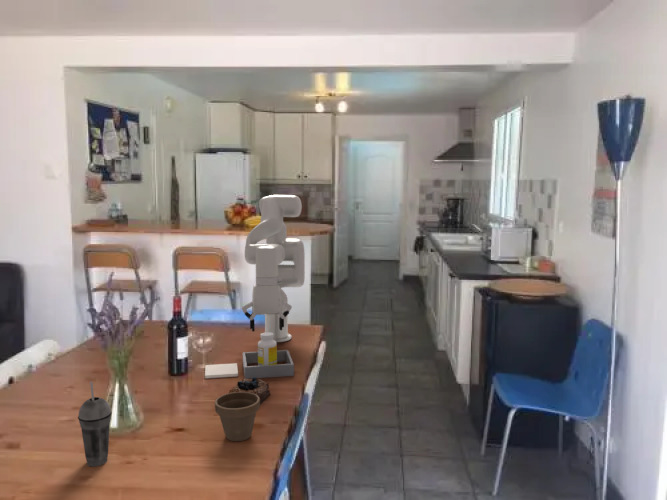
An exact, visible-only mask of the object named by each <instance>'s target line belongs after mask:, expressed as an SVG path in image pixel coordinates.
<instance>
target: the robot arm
mask: <svg viewBox="0 0 667 500" xmlns="http://www.w3.org/2000/svg"><path fill="white" fill-rule="evenodd" d="M258 206H259V212H260V215H261V216H260V223H258V224H257V225H256V226H254V227H253V229H251V230H250V231H249V233H248V235H247V236H246V238H245V239H246V240H245V247H244V260H245V261H246V263H247V264H249V265H255V284H254V285H253V287H252V293H251V295H252V296H251V301H250V302H249V303H247V304H245V305H244V306H242V307H241V310H242V312H243V314H244V316H246V317H247V318H248V320H249V328H250V329H251V331H252V332H255V329H256V328H255V317H256V316H257V315H259V316H261V315H264V333H265V332H270V333H273V334H274V337H273V340H275V341H276V343H284V342H287V341H290V340H291V339H292V334H290V333H289V332H288V329H289V327H288V326H289V325H288V318H289V317H288V315H289V314H290V311H291V310H292V308H293V306H292V305H291V304H289V303H288V301H289V300H288V299H289V298H288V295H287V294H286V293H285V291H284V290H283V288H284V289H285V288H301V287H302V286H304V284H305V273H306V271H305V260H306V259H305V258H306V257H305V254H306V253H305V245H304V242H303V241H302V240H301V239H299V238H287V233H288V230H287V225H286V224H285V222H284V218H285V217H286V218H296V217H297V218H298V217H300V215H301V214H302V210H303V209H302V208H303V206H302V200H301V198H300V197H299V196H297V195H293V194H273V195H272V194H271V195H267V196H263V197H261V198H260V199H259V203H258ZM263 240H266V241H265V242H266V243H259V242H260V241H263ZM283 262H292V263H293V264H282V263H283ZM249 308H251V311H252V312H251V313H249V312H248V309H249Z"/></svg>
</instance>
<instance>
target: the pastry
mask: <svg viewBox="0 0 667 500" xmlns="http://www.w3.org/2000/svg"><path fill="white" fill-rule="evenodd" d="M232 392H250V393H254V394H256V395H258V396H259V398H260V404H262V403H263V402H264V401H265V400H266V399H267V398H268V397H269V396H271V390H270V384H269V383H268V382H266V381H263V380H262V379H261V378H256V377H254V378H250V379H245V378H243V379H241V380H239V381H237V383H236V385H234V386H233V387H231V388H230V389H229V392H228V393H232Z"/></svg>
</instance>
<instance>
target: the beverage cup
mask: <svg viewBox="0 0 667 500" xmlns="http://www.w3.org/2000/svg"><path fill="white" fill-rule="evenodd" d="M89 382H90V383H89V384H90V393H91V397H90V398H88V399H87V400H85V401H84V402H83V403H82V404H81V406H80V408H79V411H78V416H77V420H78V423H79V426H80V429H81V436H82V443H83V449H84V456H85V460H86V465H87V466H88V467H93V468H94V467H101V466H103V465H104V464H107V462H108V460H109V459H108V457H109V447H110V445H109V443H110V425H111V424H110V423H111V420H112V414H113V412H112V409H111V405H110V404H109V402H108V401H107V400H106V399H104V398H102V397H99V396H98V397H96V396H95V393H94V385H93V381H89Z"/></svg>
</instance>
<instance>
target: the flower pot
mask: <svg viewBox="0 0 667 500" xmlns="http://www.w3.org/2000/svg"><path fill="white" fill-rule="evenodd" d="M260 407H261V403H260V398H259V396H258V395H256V394H254V393H250V392H232V393H229V392H228V393H225V394H222V395H220V396H218V397H217V398H216V399H215V400H214V410H215V412H216V414H217V415H219V418H220V422H221V426H222V430H223V432H224V436H225V438H226V439H227V440H229V441H230V442H231V441H232V442H243V441H246V440H248V439H249V438H251V436H252V433H253V429H254V424H255V420H256V415H257V412H258V411H259V410H260Z"/></svg>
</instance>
